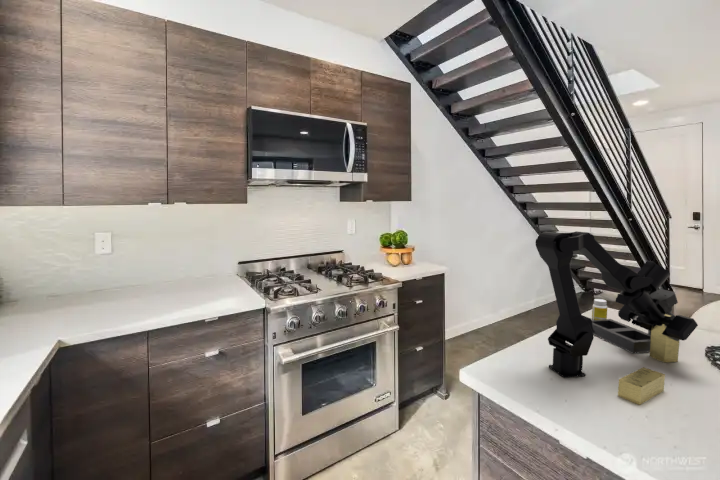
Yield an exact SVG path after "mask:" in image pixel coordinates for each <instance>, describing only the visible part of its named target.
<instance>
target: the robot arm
mask: <svg viewBox="0 0 720 480" xmlns="http://www.w3.org/2000/svg"><path fill="white" fill-rule="evenodd" d="M535 247H536V249H537V251H538V255H539V257H540V258H541V259H542V261H544V263H545V264H546V265H547V268H548V271H549V274H550V279H551V283H552V287H553V292H554V295H555V299H556V300H555V301H556V305H557V308H558V313H559V315H558V317H557V319H556V322H555V324H556V328H555V330H553V332H552V333H551V334H550V335H549V336H548V337H547V341H548V344H549V345H550V346H552V347H554V348H553V351H552V352H553V353H552V364H549V365H548V368H550V370H552V371H553V372H555V373H556V374H558V375H559V376H561V377H562V378H575V377H585V376H586V373H585V372H584V371H583V363H584V361H583V360H584V356H586V357H587V356H588V355H589V352H590V350H591V349H590V348H591V346H592V343H593V341H594V335H593V333H595V331H594V330H593V326H592V317H588V316H585V315H583V314H582V313H581V309H580V306H579V301H578V295H577V292H576V288H575V283H574V278H573V274H572V270H571V265H570V263H571V261H572V259H573V257H574V252H575V251H576V252H577V251H579V252H580V253H581V254H582V255H583V256H584V257H585V258H586V259H587V260H588V261H589V262H590V263H591V264H592V265H593V266H594V267H595V268H597V270H598V271H599V272H600V275H601V279H602V281H603V282H604V284H605V285H606V286H607V287H608V288H609V289H614V290H617V291H620V292H619V293H617V297H616V298H615V303H618V304H620V305H622V307H621V308H620V309H619V310H618V311H617V315H618V317H619V318H620V319H621V320H623V321H624V322H625V321H626V322H631V323H632V324H633V325H635V326H638V327H639V328H642V329H645V330H647V331H648V330H649V331H651V328H652V326H654V327H655V325H658V326H662V325H663V324H665V325H664V326H665V327H666V328H665V330H664V331H663V333H662V334H663V335H665V336H667V337H669V338H671V339H673V340H675V341H679V342H680V341H686V340H687V339H689V337H690V336H691V335H692V333H693V332H694V331H695V330H696V329H697V328H698V326H699V324H698V323H697V321H696V320H695V319H694V318H691V317H690V316H685V315H681V314H676V315H675V316H670V317H668V316H665V314H668V312H669V310H668V308H670V307H671V306H672V307H674V305H677V304H678V303H679V302H678V299H677V295H676V292H674V291H672V290H667V289H662V288H660V287H661V286H662V285H664V284H665V282H666V280H667V279H668V278H669V277H670V275H671V273H670V271H669V270H668V269H666V268H664V267H663V266H661V265H659V264H657V263H655V261H652V260H651V261H650V260H647V261H645V263H643V265H642V267H641V268H640V269H639V271H638V272H636V271H634V270H633V269H632V268H629V267H628V266H626V265H623V264H621V263H619V262H618V261H617V260H616V259H615V257H613V256H612V255H611V254H610V253H609V252H608V251H607V250H606V249H605V248H604V246H602V245H601V244H600V242H598V240H596V239H595V236H594V235H593V234H592V233H590V232H586V231H573V232H553V231H543V232H541V233H540V234H539V235H538V236H537V238H536V239H535Z"/></svg>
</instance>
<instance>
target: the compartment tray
mask: <svg viewBox="0 0 720 480" xmlns="http://www.w3.org/2000/svg"><path fill="white" fill-rule="evenodd" d="M591 320H592V319H591ZM592 326H593V330H594V331H595V333H593V336H595V337H597V338H600V340H601V339H602V340H603V341H604V340H605V341H606V342H608V343H610V344H612V345H614V346H617V347H618V348H621V349H623V350H625V351H627V352H628V353H631V354H643V353H645V354H646V353H650V342H651V335H650V334H648V332H644V331H642V330H640V329H637V328H636V327H635V328H634V327H632V326H630V325H627V324H624V323H622V322H620V321H617V320H614V319H611V318H607V319H603V320H592Z"/></svg>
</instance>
